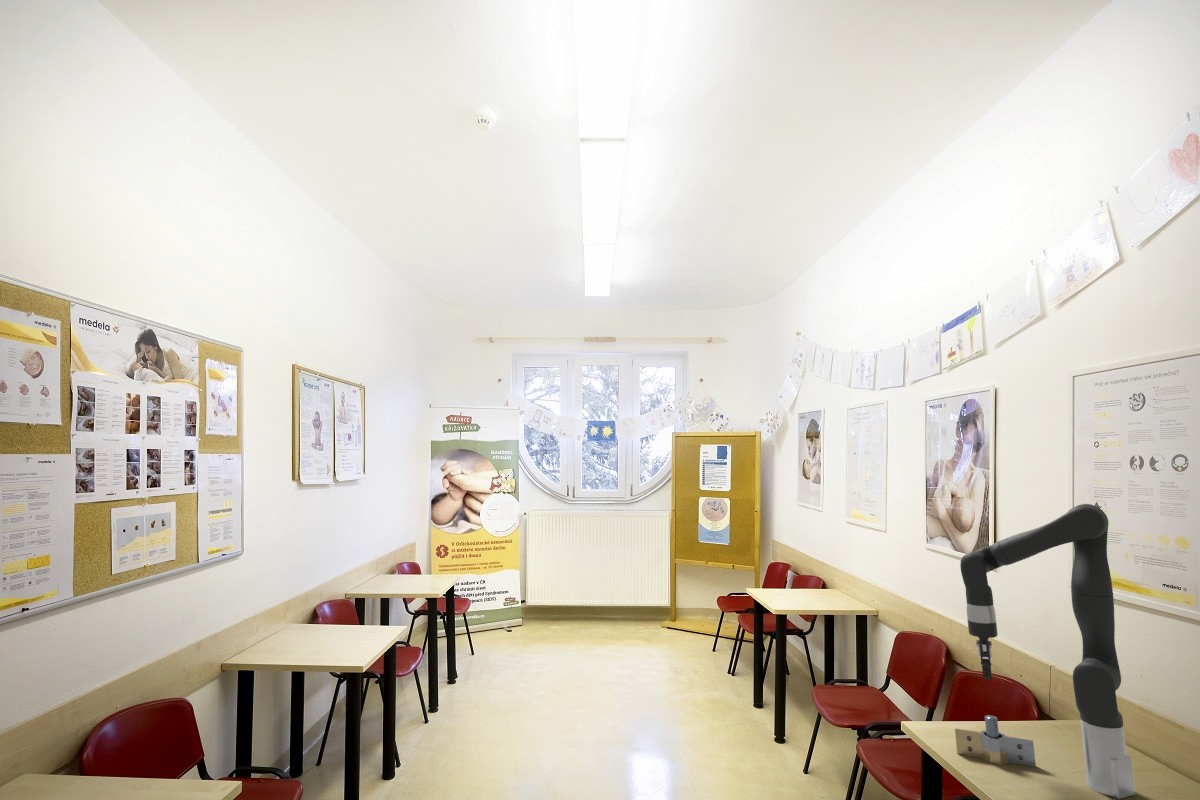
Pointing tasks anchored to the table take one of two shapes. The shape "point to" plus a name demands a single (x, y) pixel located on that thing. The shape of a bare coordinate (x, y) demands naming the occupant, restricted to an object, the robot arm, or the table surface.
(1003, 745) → the hinge
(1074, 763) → the table surface
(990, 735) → the pin
